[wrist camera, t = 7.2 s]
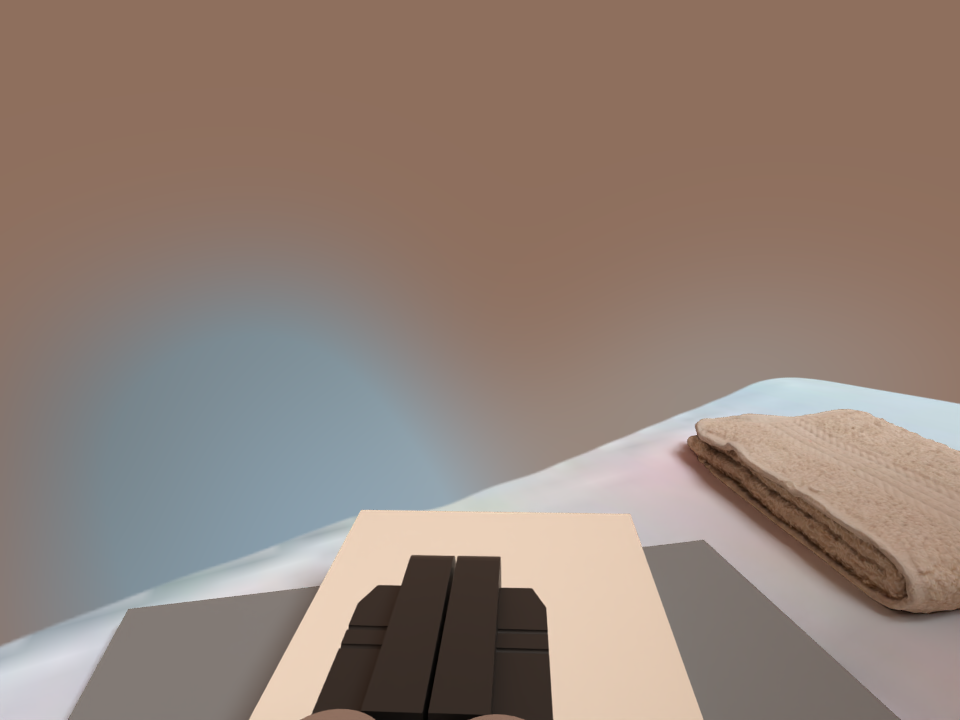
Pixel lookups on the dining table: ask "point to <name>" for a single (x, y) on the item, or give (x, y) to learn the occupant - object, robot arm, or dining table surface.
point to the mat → (277, 615)
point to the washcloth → (850, 497)
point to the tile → (524, 564)
